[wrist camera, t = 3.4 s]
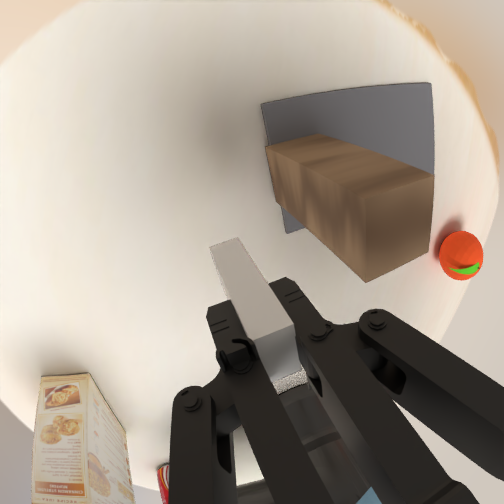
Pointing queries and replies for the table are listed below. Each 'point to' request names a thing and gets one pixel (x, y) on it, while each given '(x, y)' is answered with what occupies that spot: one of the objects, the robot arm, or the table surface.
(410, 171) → the block
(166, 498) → the soda can
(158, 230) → the table surface
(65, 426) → the coffeecake box
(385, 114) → the mat
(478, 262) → the clementine
